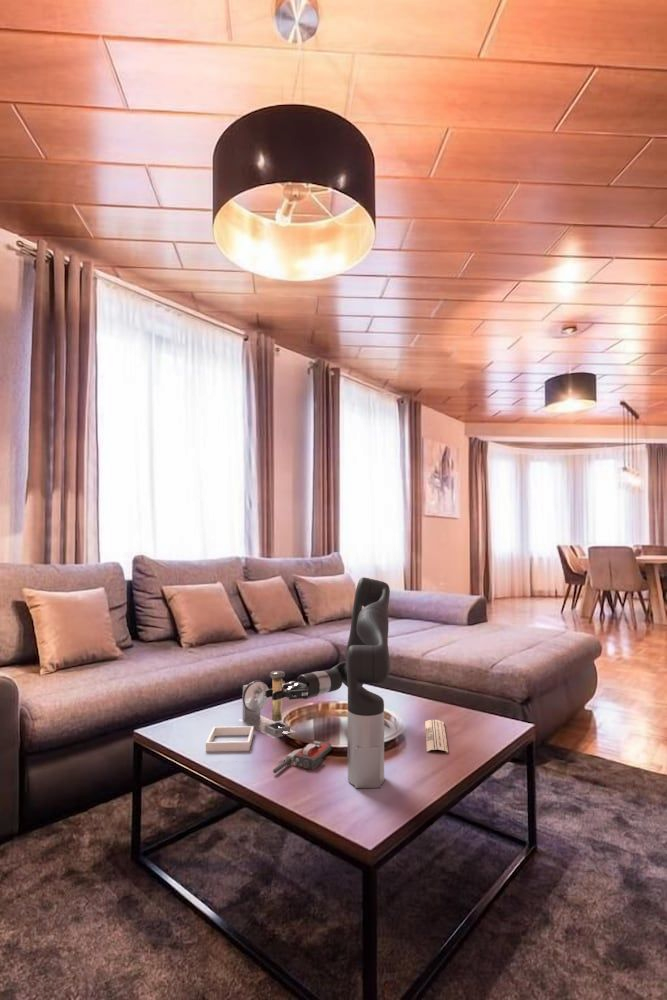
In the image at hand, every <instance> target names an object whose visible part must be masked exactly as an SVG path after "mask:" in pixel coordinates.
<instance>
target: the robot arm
mask: <svg viewBox="0 0 667 1000" xmlns="http://www.w3.org/2000/svg"><path fill="white" fill-rule="evenodd" d="M390 595H391V591H390V586H389V584H388V583H387V582H385V581H382V580H377V579H374V578H368V577H361V578H359V579H358V583H357V585H356V588H355V593H354V599H353V605H352V612H351V624H350V630H349V631H350V632H349V637H348V641H347V645H346V649H345V652H344V653H345V655H344V657H345V659H346V661H341V662H339V663H338V664H336V665H335V666H333V667H331V668H328V669H325V670H320V671H319V670H317V671H312V672H308V673H304V674H300V675H298V676H297V678H296V680H295V681H294V680H292V681H289V682H286V681H285V680H282V690H281V691H276V692H273V693H272V688H268V689H267V690H266V691H265V696H266V697H267V698H268V697H269V698H271V700H272V699H273V700H277V699H281V698H282V699H288V700H290V701H291V700H300V699H303V700H307V699H313V698H315V697H319V696H322V695H325V694H328V693H331V692H334V691H338V690H339V689H341V687H342V686H343V685H344V686H345V687H347V781H348V782H349V784H351V785H352V786H354V788H355V789H364V788H365V789H367V788H368V789H370V788H371V789H373V788H375V789H376V788H378V789H379V788H381V785H382V784H383V783H384V782H385V701H384V699H383V698H382V696H380V695H379V694H377V693H375V692H373V691H369V690H368V689H366V688H365V687H364V684H381V683H382V684H383V683H385V682H386V681H387V680H388V678H389V676H390V666H391V664H390V663H391V662H390V653H389V651H390V650H389V641H388V640H389V624H390V623H389V604H390V603H389V602H390Z"/></svg>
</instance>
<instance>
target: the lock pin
mask: <svg viewBox="0 0 667 1000" xmlns="http://www.w3.org/2000/svg"><path fill="white" fill-rule="evenodd" d="M285 674H286V673H285V671H282V670H274V671H273V670H272V671H271V672H269V677H270V678H271V680H272V683H271V684H272V685H271V686H272V688H271V689H272V693H273V692H276V691H281V690H282V681H283V678H285ZM271 700H272V702H271V703H272V707H271V708H272V709H271V710H272V711H271V713H272V714H271V720H272V721H274V722H278V721H280V722H281V721H282V720H283V698H281V699H277V700H273V699H272V698H271Z"/></svg>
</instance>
